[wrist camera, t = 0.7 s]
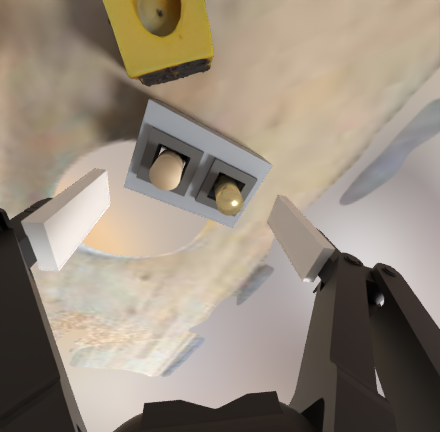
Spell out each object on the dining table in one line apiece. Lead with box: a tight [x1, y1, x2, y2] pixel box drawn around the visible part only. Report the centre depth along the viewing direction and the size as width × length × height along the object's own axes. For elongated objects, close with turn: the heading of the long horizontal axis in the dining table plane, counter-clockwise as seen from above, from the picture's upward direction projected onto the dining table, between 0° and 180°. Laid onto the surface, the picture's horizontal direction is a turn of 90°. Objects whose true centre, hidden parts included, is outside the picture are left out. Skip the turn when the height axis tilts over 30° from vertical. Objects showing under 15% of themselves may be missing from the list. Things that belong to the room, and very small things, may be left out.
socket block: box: [124, 99, 272, 228], centre depth 34 cm, size 21×14×7 cm, turn 63°
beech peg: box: [149, 149, 184, 191], centre depth 28 cm, size 4×4×7 cm
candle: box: [102, 0, 214, 86], centre depth 23 cm, size 10×10×10 cm
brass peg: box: [213, 175, 244, 216], centre depth 31 cm, size 4×4×7 cm
